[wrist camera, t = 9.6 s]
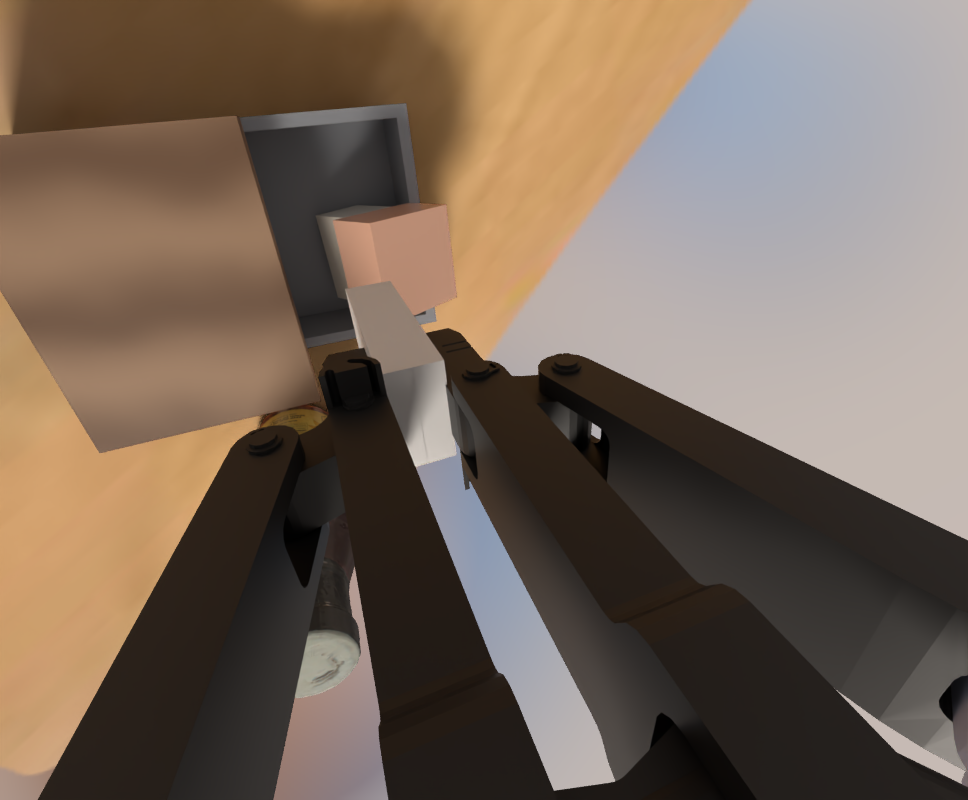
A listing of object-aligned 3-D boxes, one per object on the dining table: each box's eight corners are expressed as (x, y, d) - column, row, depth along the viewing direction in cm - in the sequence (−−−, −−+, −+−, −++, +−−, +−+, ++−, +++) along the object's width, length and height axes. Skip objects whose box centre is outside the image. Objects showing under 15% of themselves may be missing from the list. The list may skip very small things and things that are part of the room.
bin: (167, 125, 26) (147, 125, 22) (389, 106, 29) (406, 103, 25) (242, 334, 32) (237, 362, 28) (419, 299, 35) (436, 321, 31)
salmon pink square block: (332, 220, 24) (369, 223, 22) (408, 203, 27) (446, 204, 25) (354, 316, 26) (389, 326, 25) (421, 290, 30) (457, 297, 28)
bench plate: (11, 139, 24) (-90, 143, 17) (247, 119, 27) (235, 115, 20) (137, 385, 31) (99, 453, 25) (313, 348, 34) (320, 400, 27)
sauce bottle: (341, 464, 39) (385, 703, 23) (256, 471, 37) (237, 742, 21) (342, 392, 36) (393, 606, 20) (250, 395, 34) (222, 639, 18)
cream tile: (367, 219, 25) (410, 207, 27) (315, 215, 28) (356, 205, 30) (387, 309, 28) (425, 293, 30) (338, 297, 31) (374, 283, 33)
